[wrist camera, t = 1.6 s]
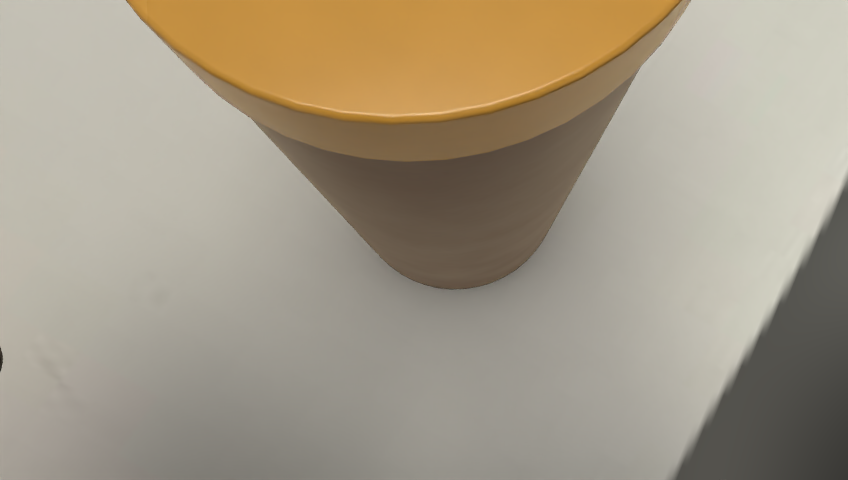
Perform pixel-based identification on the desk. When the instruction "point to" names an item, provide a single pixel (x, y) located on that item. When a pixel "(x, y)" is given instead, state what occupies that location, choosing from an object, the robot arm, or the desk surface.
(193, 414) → the desk surface
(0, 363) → the robot arm
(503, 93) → the chocolate tin
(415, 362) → the desk surface
